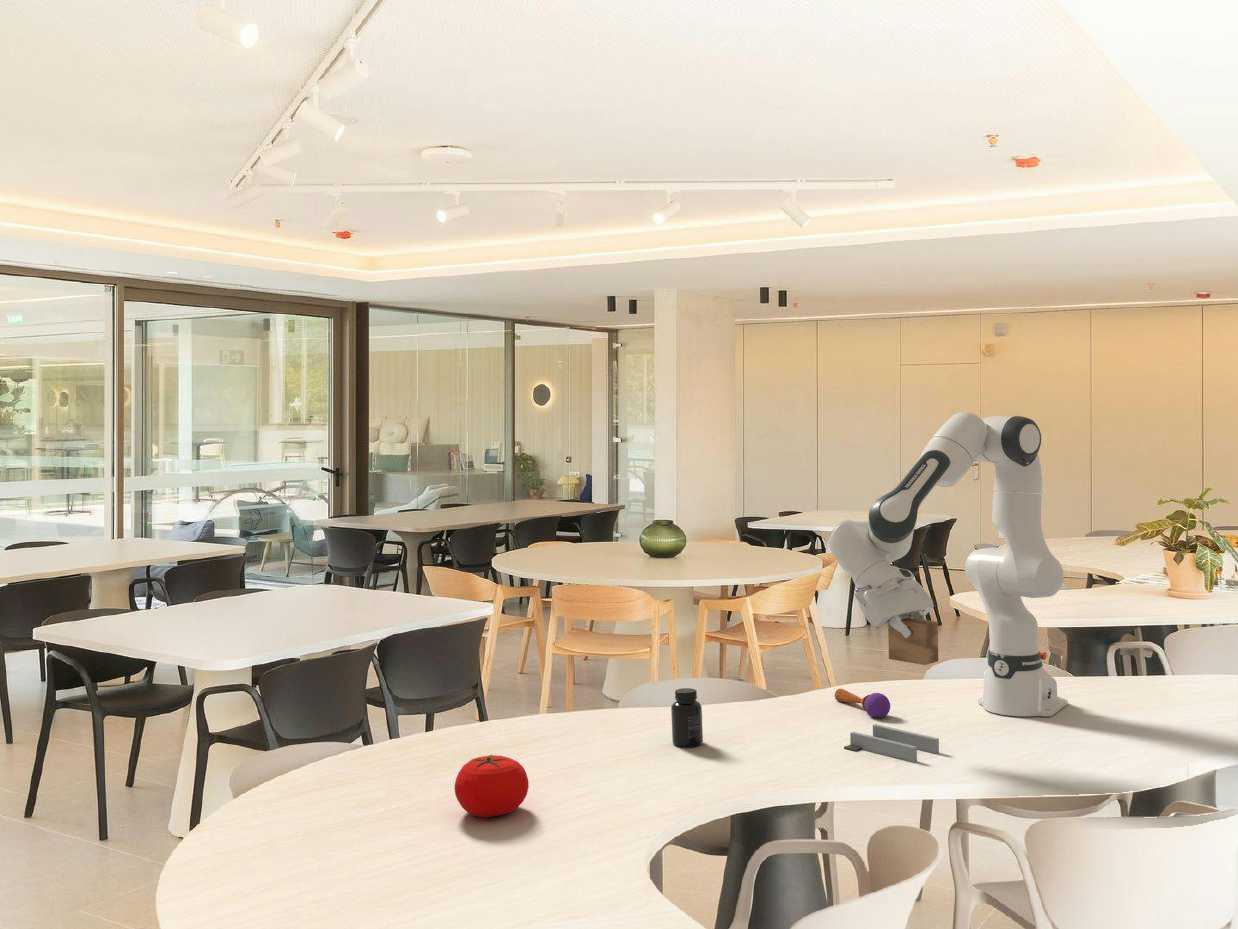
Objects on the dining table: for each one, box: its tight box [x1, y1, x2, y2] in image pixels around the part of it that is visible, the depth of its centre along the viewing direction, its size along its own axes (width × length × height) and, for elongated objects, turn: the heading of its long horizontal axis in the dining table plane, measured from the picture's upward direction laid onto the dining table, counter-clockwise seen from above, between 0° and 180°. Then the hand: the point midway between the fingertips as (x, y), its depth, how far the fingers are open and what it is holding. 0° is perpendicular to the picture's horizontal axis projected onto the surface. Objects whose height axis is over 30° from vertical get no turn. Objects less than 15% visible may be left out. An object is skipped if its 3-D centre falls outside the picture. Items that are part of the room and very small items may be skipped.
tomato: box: [453, 754, 530, 818], centre depth 201 cm, size 14×13×10 cm
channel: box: [843, 723, 940, 763], centre depth 233 cm, size 14×16×3 cm
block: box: [887, 618, 939, 666], centre depth 232 cm, size 5×9×8 cm, turn 41°
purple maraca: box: [834, 688, 891, 719], centre depth 266 cm, size 6×6×20 cm
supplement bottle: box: [670, 687, 704, 748], centre depth 241 cm, size 7×7×12 cm
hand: (918, 633), depth 231 cm, fingers closed on block, 5 cm apart
